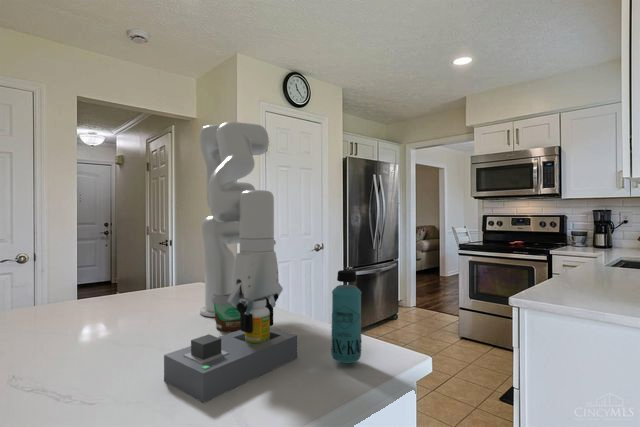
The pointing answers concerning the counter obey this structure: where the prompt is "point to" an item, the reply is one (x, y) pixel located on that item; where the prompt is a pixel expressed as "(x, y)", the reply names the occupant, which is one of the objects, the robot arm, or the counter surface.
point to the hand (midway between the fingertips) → (257, 327)
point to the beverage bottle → (346, 319)
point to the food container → (226, 314)
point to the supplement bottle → (259, 323)
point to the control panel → (225, 362)
